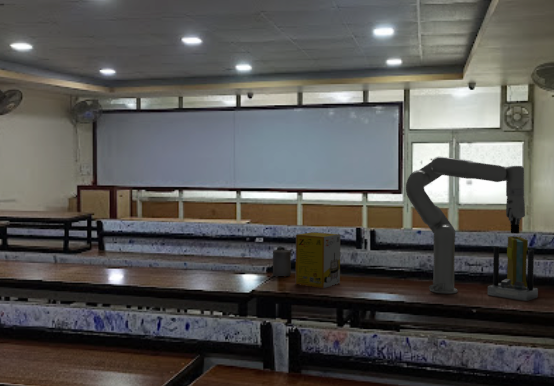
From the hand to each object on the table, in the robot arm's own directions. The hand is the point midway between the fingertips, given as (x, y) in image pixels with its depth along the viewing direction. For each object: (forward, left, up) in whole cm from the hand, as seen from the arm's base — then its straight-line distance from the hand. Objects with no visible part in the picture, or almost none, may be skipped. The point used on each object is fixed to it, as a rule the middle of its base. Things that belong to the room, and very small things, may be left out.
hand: (514, 233), depth 269 cm
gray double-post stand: (0, 0, -29) cm, 29 cm away
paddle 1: (0, +3, -24) cm, 24 cm away
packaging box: (-44, +80, -29) cm, 96 cm away
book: (+17, +6, -29) cm, 34 cm away
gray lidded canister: (-41, +109, -29) cm, 121 cm away
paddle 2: (0, -3, -24) cm, 24 cm away
